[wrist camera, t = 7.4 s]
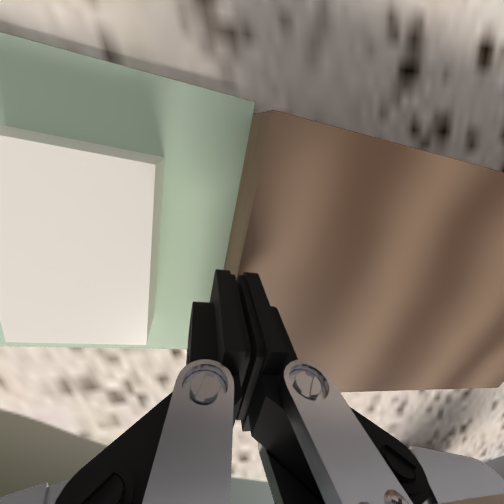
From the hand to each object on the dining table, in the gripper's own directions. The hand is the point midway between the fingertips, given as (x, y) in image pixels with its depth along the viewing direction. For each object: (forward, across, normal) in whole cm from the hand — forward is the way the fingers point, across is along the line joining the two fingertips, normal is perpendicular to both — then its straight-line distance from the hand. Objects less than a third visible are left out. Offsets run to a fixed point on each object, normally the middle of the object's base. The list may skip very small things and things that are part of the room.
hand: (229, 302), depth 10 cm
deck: (+5, -11, 0) cm, 12 cm away
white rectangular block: (+3, +6, 0) cm, 7 cm away
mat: (+5, +6, 0) cm, 7 cm away
